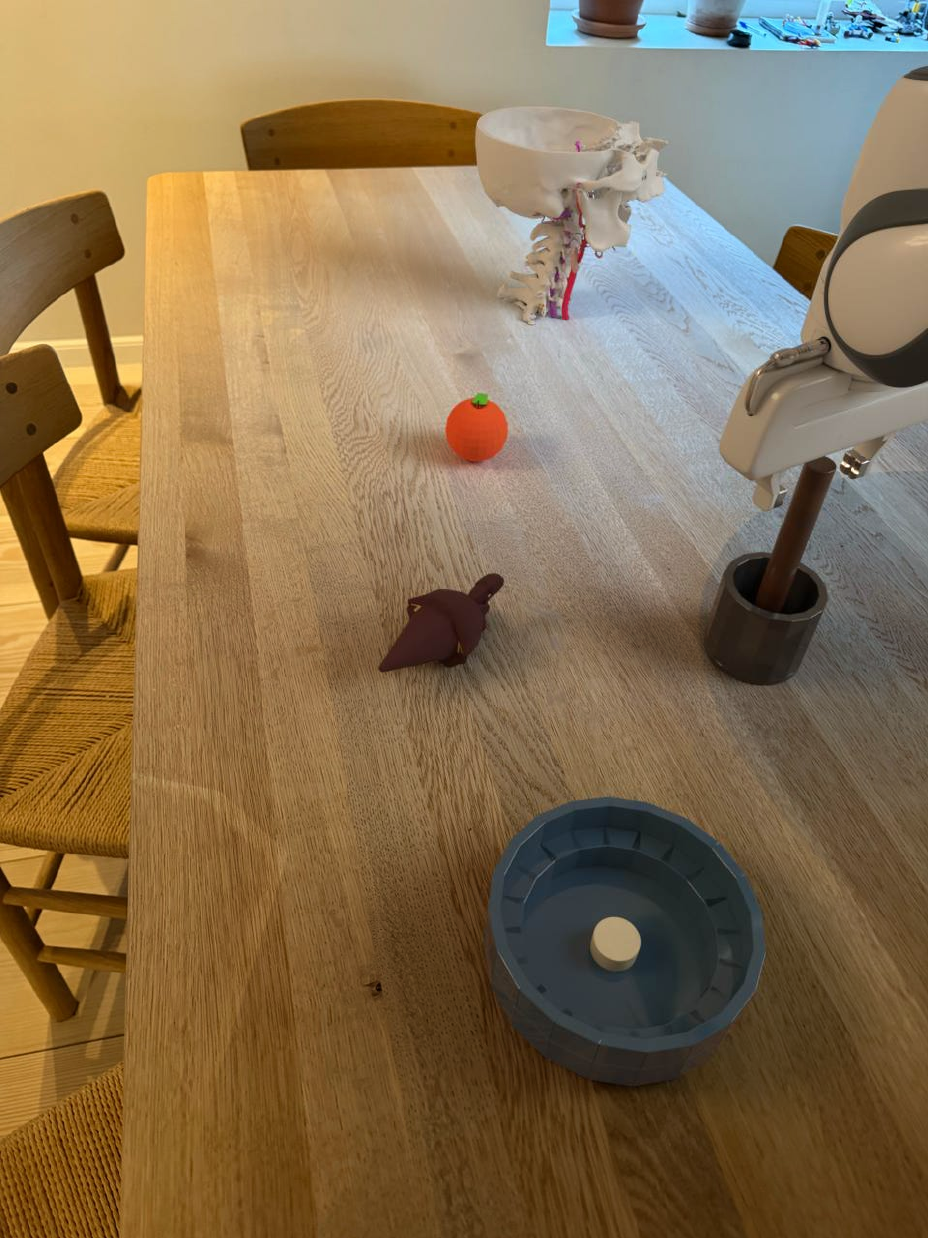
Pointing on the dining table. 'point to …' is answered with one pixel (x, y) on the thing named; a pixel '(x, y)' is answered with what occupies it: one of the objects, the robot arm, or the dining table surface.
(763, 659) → the holder
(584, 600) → the dining table surface
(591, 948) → the dough
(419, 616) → the icecream
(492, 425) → the clementine
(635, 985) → the bowl
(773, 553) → the stick
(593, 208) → the skull
